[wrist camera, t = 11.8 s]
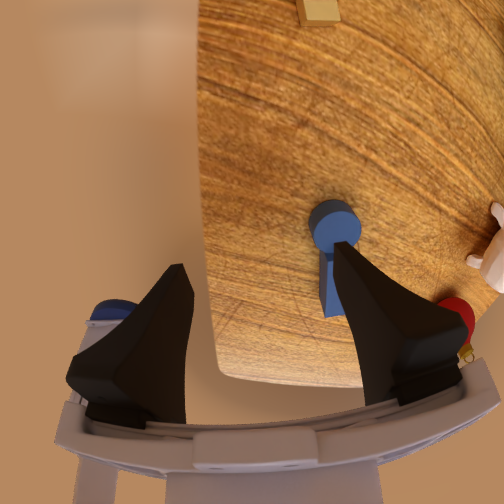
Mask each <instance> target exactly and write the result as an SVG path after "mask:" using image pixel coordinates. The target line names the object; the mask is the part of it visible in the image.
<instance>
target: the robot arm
mask: <svg viewBox="0 0 504 504" xmlns="http://www.w3.org/2000/svg"><path fill="white" fill-rule="evenodd" d="M333 279H334V283H335V287H336V291H337V294H338V297H339V300H340V302H341V305H342V307H343V310H344V313H345V315H346V318H347V320H348V323H349V326H350V328H351V331H352V334H353V338H354V342H355V346H356V350H357V355H358V360H359V365H360V370H361V376H362V382H363V389H364V397H365V407H361V408H357V409H353V410H349V411H344V412H339V413H334V414H329V415H324V416H317V417H311V418H304V419H297V420H289V421H280V422H270V423H258V424H237V425H193V424H186V413H185V357H186V350H187V344H188V339H189V333H190V328H191V323H192V317H193V311H194V291H193V289H192V286H191V284H190V281H189V279H188V276H187V274H186V271H185V269H184V266H183V264H174V265H170V267H169V268H168V269H167V270H166V271H165V272H164V274H163V275H162V276H161V278H160V279H159V280H158V281H157V283H156V284H155V285H154V286H153V288H152V289H151V290H150V292H149V293H148V294H147V295H146V296H145V298H143V300H142V301H141V302H140V303H139V304H138V305H137V307H136V308H135V309H134V310H133V311H132V312H131V313H130V314H129V315H128V316H127V317H126V318H125V319H116V320H86V322H85V324H86V325H87V326H88V328H87V331H86V333H85V336H84V338H83V340H82V343H81V346H80V348H79V350H78V353H77V355H75V356H74V357H73V359H72V362H71V364H70V367H69V370H68V372H67V375H66V382H67V383H68V385H69V386H70V387H71V388H72V389H73V390H72V393H71V396H70V399H69V401H65V403H64V406H63V410H62V414H61V417H60V421H59V425H58V428H57V432H56V436H55V441H54V443H55V444H56V445H58V446H60V447H62V448H64V449H66V450H68V451H70V452H72V453H74V454H76V455H77V456H78V457H79V464H78V470H77V476H76V482H75V489H74V496H73V504H114V500H115V491H116V484H117V477H118V471H120V470H124V471H128V472H132V473H136V474H141V475H145V476H149V477H154V478H159V479H165V480H167V481H166V498H165V504H383V498H382V491H381V485H380V479H379V473H378V467H377V466H379V465H382V464H385V463H387V462H391V461H394V460H396V459H399V458H402V457H404V456H407V455H410V454H412V453H414V452H417V451H419V450H422V449H424V448H426V447H428V446H431V445H433V444H435V443H437V442H439V441H441V440H443V439H445V438H447V437H449V436H451V435H453V434H455V433H457V432H459V431H461V430H463V429H465V428H466V427H468V426H470V425H472V424H473V423H475V422H476V421H478V420H479V419H481V418H482V417H483V416H484V415H486V414H487V413H489V412H490V411H491V410H492V409H494V408H495V407H496V406H497V405H498V404H500V403H501V399H500V396H499V393H498V391H497V388H496V386H495V383H494V381H493V379H492V377H491V375H490V372H489V370H488V367H487V365H486V363H485V361H484V359H483V358H479V359H477V360H475V361H473V362H471V363H468V364H467V365H465V366H463V367H462V368H460V369H459V368H458V365H457V364H458V363H459V358H458V356H457V353H458V352H459V350H460V349H461V347H462V346H463V345H464V343H465V341H466V340H467V338H468V335H469V329H468V327H467V325H466V323H465V321H464V320H463V318H462V316H461V315H460V313H459V312H456V311H453V310H450V309H448V308H445V307H442V306H439V305H437V304H435V303H433V302H430V301H428V300H426V299H424V298H422V297H420V296H418V295H417V294H415V293H413V292H411V291H409V290H408V289H406V288H404V287H403V286H401V285H400V284H398V283H397V282H395V281H394V280H392V279H391V278H389V277H388V276H387V275H385V274H384V273H383V272H382V271H380V270H379V269H378V268H376V267H375V266H374V265H373V264H372V263H371V262H369V261H368V260H367V259H366V258H365V257H364V256H362V255H361V254H360V253H359V252H358V251H357V250H356V249H355V248H354V247H352V246H351V245H350V244H349V243H348V242H347V241H342V242H335V243H334V255H333Z"/></svg>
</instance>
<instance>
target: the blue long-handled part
mask: <svg viewBox="0 0 504 504" xmlns="http://www.w3.org/2000/svg"><path fill="white" fill-rule="evenodd" d="M309 229H310V232H311V234H312V237H313V240H314V242H315V245H316V246H317V247H318V248H319V249H320V281H319V297H320V301H321V305H322V308H323V312H324V316H325V318H327V317H333V316H338V315H344V314H345V313H344V310H343V307H342V305H341V302H340V300H339V297H338V294H337V291H336V287H335V283H334V279H333V255H334V243H335V242H342V241H347V242H348V243H349V244H350V245H351V246H352V247H353V246H354V245H355V244H356V242H357V241H358V239H359V237H360V234H361V224H360V221H359V219H358V218H357V216H356V215H355V213H354V212H353V210H352V209H351V208H350V206H349V205H348V204H346V203H345V202H343V201H339V200H329V201H325V202H323V203H321V204H320V205H318V206H317V207H316V208H315V209H314V210H313V212H312V213H311V215H310V218H309Z"/></svg>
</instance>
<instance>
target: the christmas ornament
mask: <svg viewBox="0 0 504 504" xmlns="http://www.w3.org/2000/svg"><path fill="white" fill-rule="evenodd" d="M437 305H439V306H442V307H445V308H448V309H450V310H453V311H456V312H459V313H460V315H461V316H462V318H463V320H464V321H465V323H466V325H467V327H468V329H469V335H468V338H467V340H466V341H465V343H464V345H463V346H462V347H461V349H460V350H459V352H458V354H459V356H460V359H464V361H465V362H466V363H471V362H467V361H466V360H465V358H466V357H468V356H469V355H470V354H472V352H473V348H472V346H471V344H470V339H471V336H472V334H473V331H474V327H475V316H474V312H473V310H472V308H471V306H470V305H469V304H468V303H467V302H466V301H465V300H463V299H461V298H457V297H450V298H447V299H444V300H442V301H441V302H439V303H438V304H437ZM472 355H473V354H472ZM473 361H474V355H473ZM473 361H472V362H473Z"/></svg>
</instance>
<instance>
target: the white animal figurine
mask: <svg viewBox="0 0 504 504" xmlns="http://www.w3.org/2000/svg"><path fill="white" fill-rule="evenodd" d="M491 213H492V214H493V216H494V217H496V218H497V221H498V222H499V225H500V226H501V229H500V230H499V231H498V232H497V233H496V234H495V236H494V237H493V239H492V241H491V243H490V245H489V247H488V248H487V250H486V251H485V254H484V256H479V255H476V254H472V255H469V256H468V257H467V259H466V264H467V265H469V266H471V267H475V268H477V269H480V274H481V275H482V277H483V278H484V279H485V281H486V282H487V283H488V284H489V285H490V286H491V287H492V288H493V289H495V290H496V291H498V292H500V293H504V209H503V207H502V206H501V205H500V204H499V203H498V202H493V204H492V206H491Z"/></svg>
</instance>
